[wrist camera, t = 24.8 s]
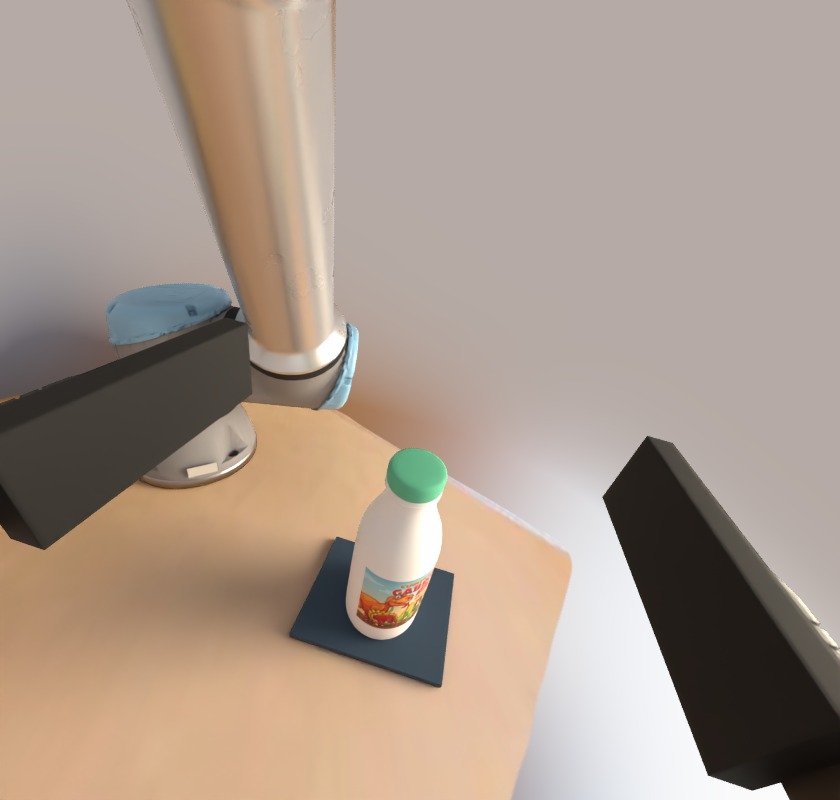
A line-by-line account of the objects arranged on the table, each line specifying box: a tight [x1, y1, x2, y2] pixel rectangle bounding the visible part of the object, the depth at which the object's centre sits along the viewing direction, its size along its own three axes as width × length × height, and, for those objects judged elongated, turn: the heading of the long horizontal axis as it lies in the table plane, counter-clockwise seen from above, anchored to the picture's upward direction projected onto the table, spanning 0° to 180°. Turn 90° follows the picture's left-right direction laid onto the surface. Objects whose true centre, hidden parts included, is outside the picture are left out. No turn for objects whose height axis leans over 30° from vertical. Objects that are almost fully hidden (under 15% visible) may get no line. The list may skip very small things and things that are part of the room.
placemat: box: [290, 537, 454, 687], centre depth 36 cm, size 15×11×1 cm
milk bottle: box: [346, 448, 447, 640], centre depth 30 cm, size 8×8×20 cm
